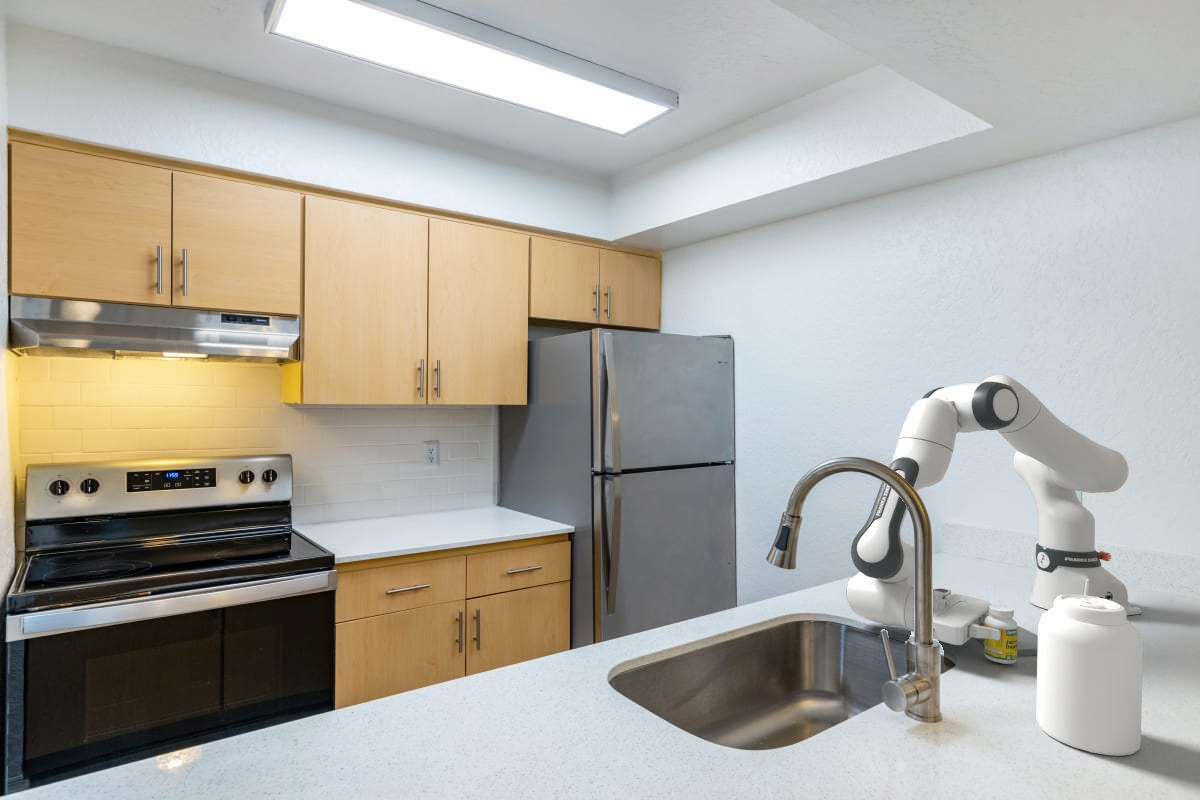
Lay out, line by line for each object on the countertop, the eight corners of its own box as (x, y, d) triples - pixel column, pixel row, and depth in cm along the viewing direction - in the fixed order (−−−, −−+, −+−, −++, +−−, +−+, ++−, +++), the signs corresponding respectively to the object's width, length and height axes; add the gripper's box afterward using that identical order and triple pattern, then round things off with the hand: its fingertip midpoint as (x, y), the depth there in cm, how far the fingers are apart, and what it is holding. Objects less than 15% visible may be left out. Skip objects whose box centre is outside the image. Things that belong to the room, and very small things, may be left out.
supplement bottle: (992, 651, 130) (993, 601, 129) (1022, 660, 125) (1023, 609, 125) (978, 656, 127) (979, 606, 126) (1008, 666, 122) (1009, 614, 122)
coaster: (1018, 631, 143) (1018, 626, 143) (1064, 653, 131) (1064, 647, 131) (966, 633, 141) (966, 627, 141) (1007, 656, 129) (1007, 649, 129)
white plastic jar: (1147, 768, 91) (1151, 620, 90) (1036, 741, 97) (1039, 604, 97) (1134, 729, 101) (1137, 597, 101) (1035, 707, 108) (1037, 583, 108)
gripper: (908, 608, 128) (989, 627, 118) (945, 586, 142) (1020, 601, 132) (907, 641, 128) (989, 663, 118) (945, 616, 142) (1020, 633, 132)
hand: (1006, 630), depth 125 cm, fingers closed on supplement bottle, 5 cm apart
